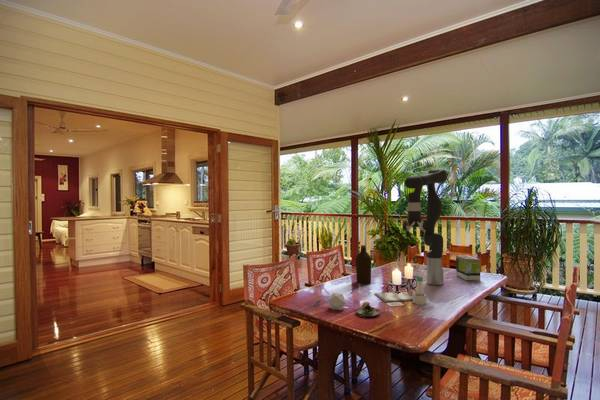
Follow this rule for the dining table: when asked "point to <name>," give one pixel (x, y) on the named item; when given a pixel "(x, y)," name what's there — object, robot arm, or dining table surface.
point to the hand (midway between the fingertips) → (414, 237)
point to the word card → (395, 304)
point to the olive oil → (363, 266)
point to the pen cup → (419, 299)
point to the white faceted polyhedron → (337, 301)
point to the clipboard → (395, 296)
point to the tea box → (468, 267)
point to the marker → (419, 286)
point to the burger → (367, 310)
